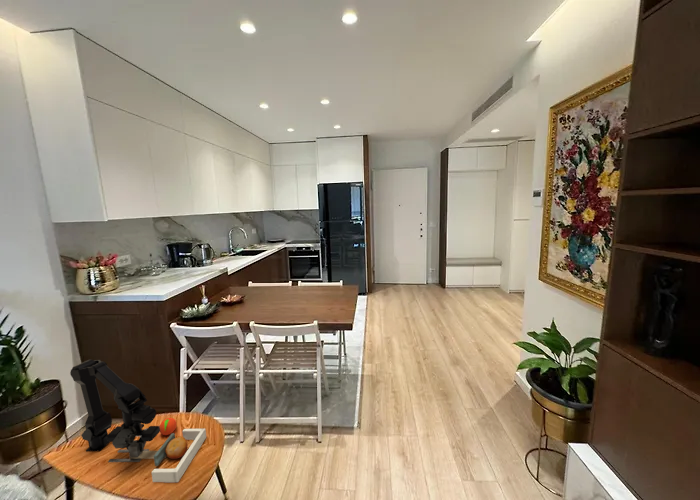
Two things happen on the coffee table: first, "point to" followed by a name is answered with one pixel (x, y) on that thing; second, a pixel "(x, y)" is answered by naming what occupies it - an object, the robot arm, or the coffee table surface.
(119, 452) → the track
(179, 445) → the fruit
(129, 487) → the coffee table surface
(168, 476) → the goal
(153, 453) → the kicker
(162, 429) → the clementine
